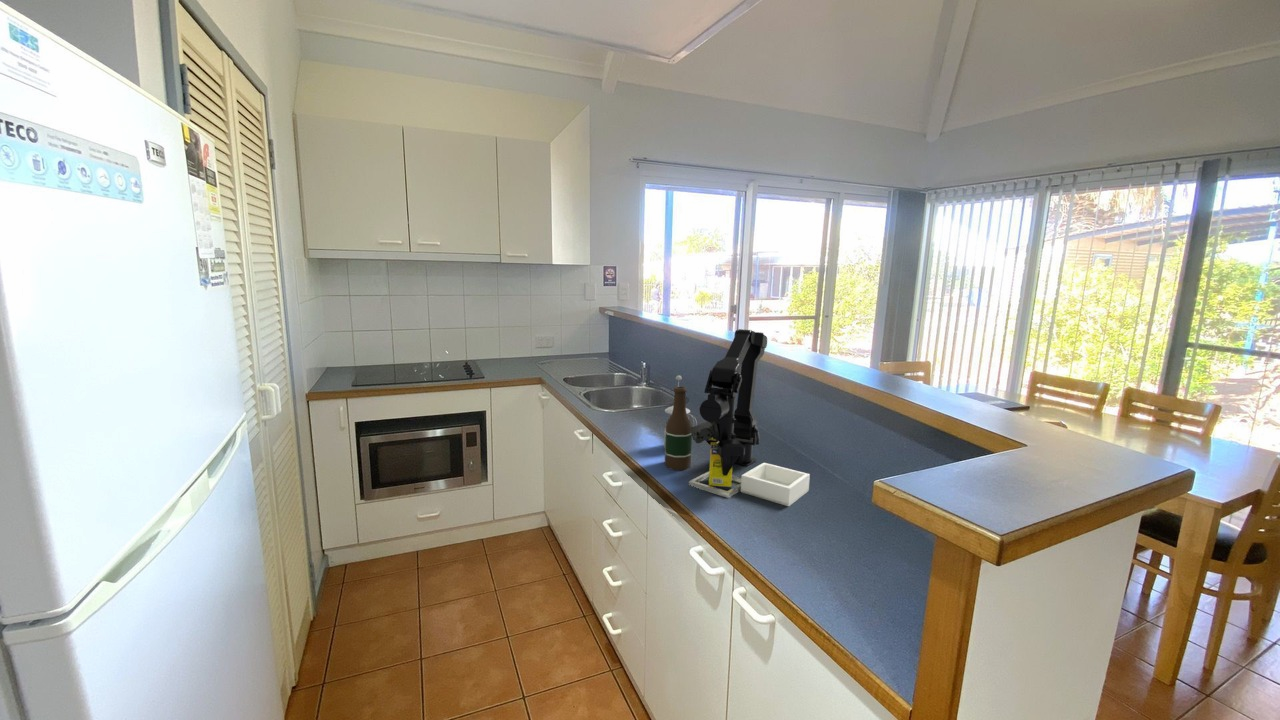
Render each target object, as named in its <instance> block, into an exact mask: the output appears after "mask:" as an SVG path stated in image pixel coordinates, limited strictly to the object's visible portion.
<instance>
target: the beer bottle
mask: <svg viewBox="0 0 1280 720" xmlns="http://www.w3.org/2000/svg"><path fill="white" fill-rule="evenodd" d="M673 392H674V394H673V405H672V406H673V412H672V415H671V414H670V416H669V418H668V419H667V421H666V422H667V424H666V423H665V426H666V436H665V435H664V440H665V448H664V465H665V467H666V468H667V469H671V470H672V471H673V470H674V471H686V470H688V469H690V468H691V466H692V465H691V463H692V462H691V461H692V440H693V437H692V434H691V431H690V428H691V427H693V426H692V424H691V421H690V418H689V416H688V414H687V415H686V408H687V404H686V403H687V401H686V399H687V398H686V393H687V388H686V387H684V386H679V387H678V386H676V387H674V388H673ZM688 418H689V419H688Z"/></svg>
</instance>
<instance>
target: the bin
mask: <svg viewBox="0 0 1280 720" xmlns="http://www.w3.org/2000/svg"><path fill="white" fill-rule="evenodd" d="M810 477H811V474H810V473H808V472H807V473H806V472H803V471H799V470H795V469H791V468H787V467H783V466H779V465H776V464H772V463H767V462H763V463H761V464H759V465H757V466H755V467H754V468H752V469H750V470H748V471H746V472H745V473H743V474H741V491H740V493H742V494H746V495H750V496H753V497H755V498H759V499H762V500H766V501H769V502H772V503H775V504H778V505H779V504H780V505H782V506H786V507H790V506H791V505H792V504H794V503H795V502H796V501H798V500H799V499H801V497H803V496H804V495H805V494H807V493H808V492H809V490H810V480H811V479H810Z"/></svg>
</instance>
